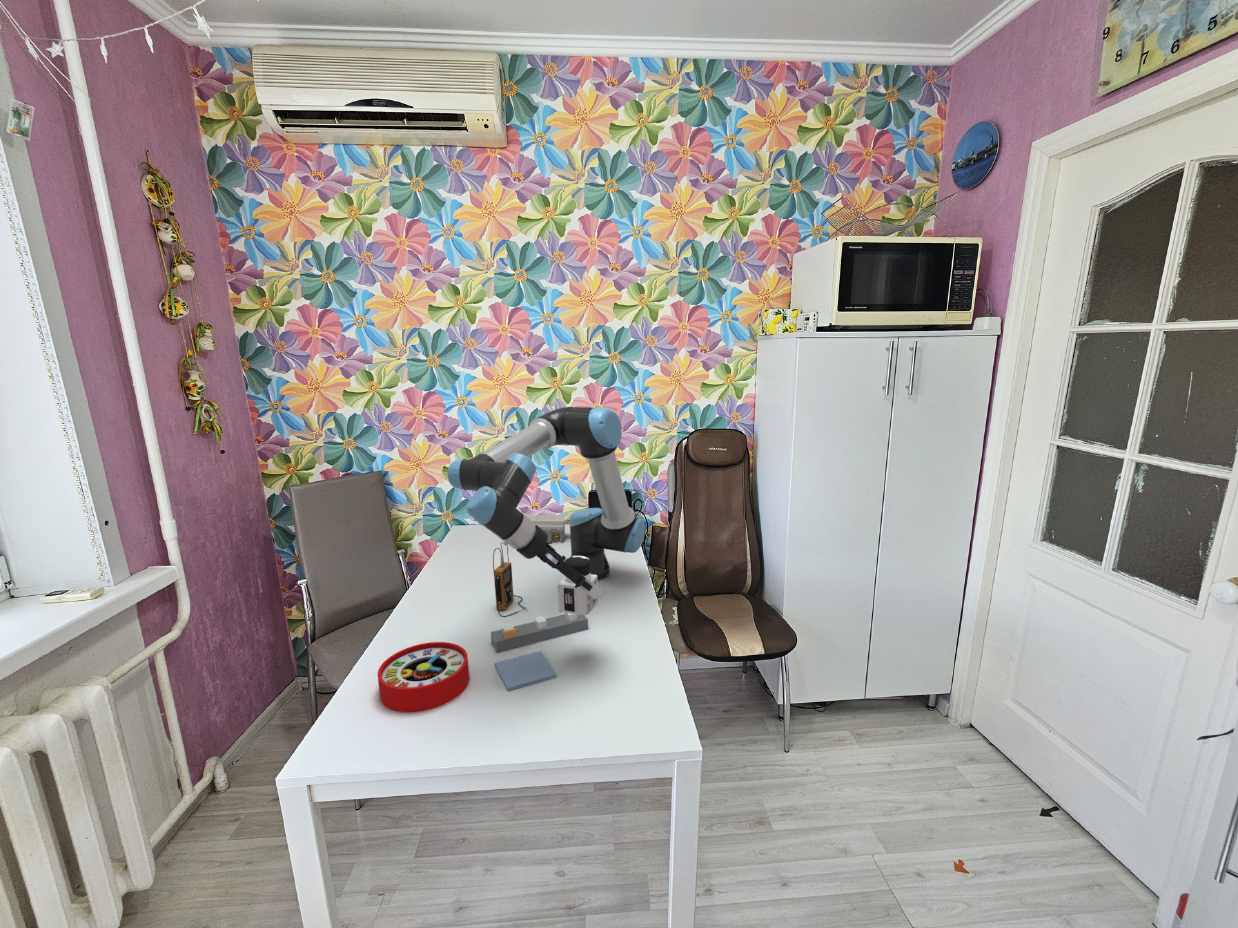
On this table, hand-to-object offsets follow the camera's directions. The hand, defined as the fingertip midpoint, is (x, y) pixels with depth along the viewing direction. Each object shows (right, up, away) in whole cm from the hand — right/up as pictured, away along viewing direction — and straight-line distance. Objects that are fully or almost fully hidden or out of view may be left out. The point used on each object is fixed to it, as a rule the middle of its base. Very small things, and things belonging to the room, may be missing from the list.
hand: (588, 586), depth 136 cm
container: (-2, -6, 0) cm, 6 cm away
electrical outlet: (-24, -2, +93) cm, 96 cm away
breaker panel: (-14, -17, +13) cm, 26 cm away
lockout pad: (-15, -20, -4) cm, 26 cm away
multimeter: (-24, -14, +31) cm, 42 cm away
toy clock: (-38, -22, -8) cm, 45 cm away
